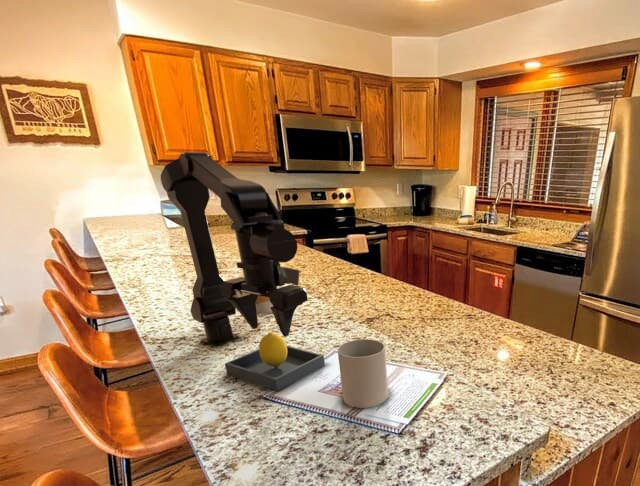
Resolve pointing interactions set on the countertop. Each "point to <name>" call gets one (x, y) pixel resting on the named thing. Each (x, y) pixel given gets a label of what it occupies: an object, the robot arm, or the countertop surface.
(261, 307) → the coffee cup
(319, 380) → the countertop surface
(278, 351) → the lemon
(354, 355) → the cup
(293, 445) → the countertop surface
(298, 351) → the tray
